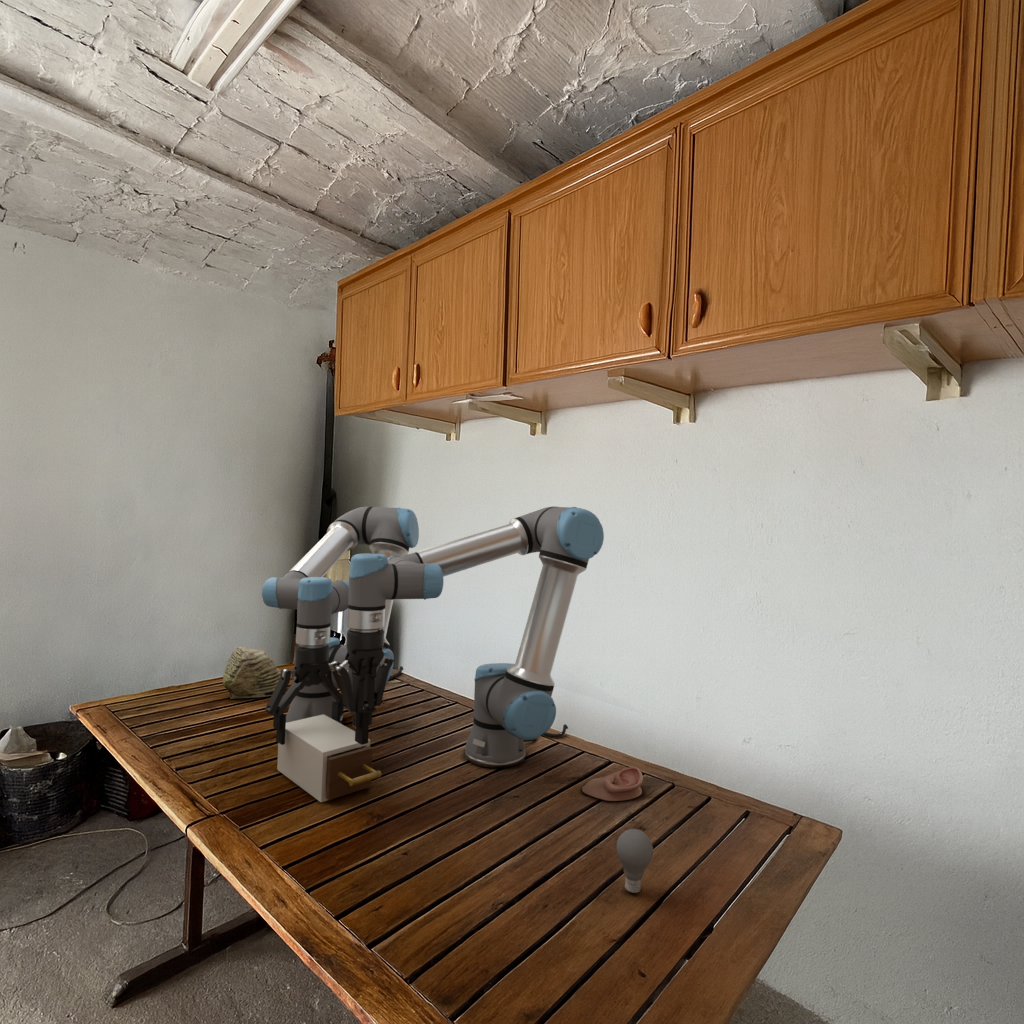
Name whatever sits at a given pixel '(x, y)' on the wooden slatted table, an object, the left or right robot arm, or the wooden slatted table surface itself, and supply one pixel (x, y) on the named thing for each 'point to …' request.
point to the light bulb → (634, 857)
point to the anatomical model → (616, 785)
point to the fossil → (250, 674)
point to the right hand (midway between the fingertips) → (361, 741)
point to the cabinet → (313, 751)
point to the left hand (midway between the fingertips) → (308, 736)
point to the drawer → (349, 772)
